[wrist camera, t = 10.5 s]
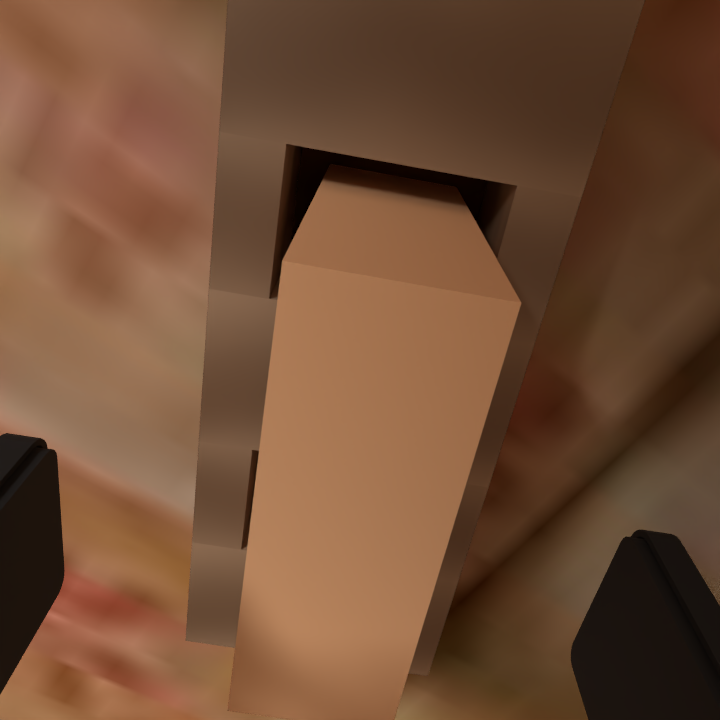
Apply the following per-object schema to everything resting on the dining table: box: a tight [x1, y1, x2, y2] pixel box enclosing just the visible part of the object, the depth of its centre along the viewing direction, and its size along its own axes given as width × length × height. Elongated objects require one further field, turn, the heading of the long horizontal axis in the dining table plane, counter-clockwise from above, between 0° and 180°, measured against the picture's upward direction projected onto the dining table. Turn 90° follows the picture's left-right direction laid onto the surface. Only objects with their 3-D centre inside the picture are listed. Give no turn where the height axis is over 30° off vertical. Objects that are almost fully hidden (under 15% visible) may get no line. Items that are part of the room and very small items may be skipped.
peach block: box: [227, 164, 521, 720], centre depth 15 cm, size 10×4×9 cm, turn 170°
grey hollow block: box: [186, 0, 645, 676], centre depth 18 cm, size 20×8×4 cm, turn 170°
